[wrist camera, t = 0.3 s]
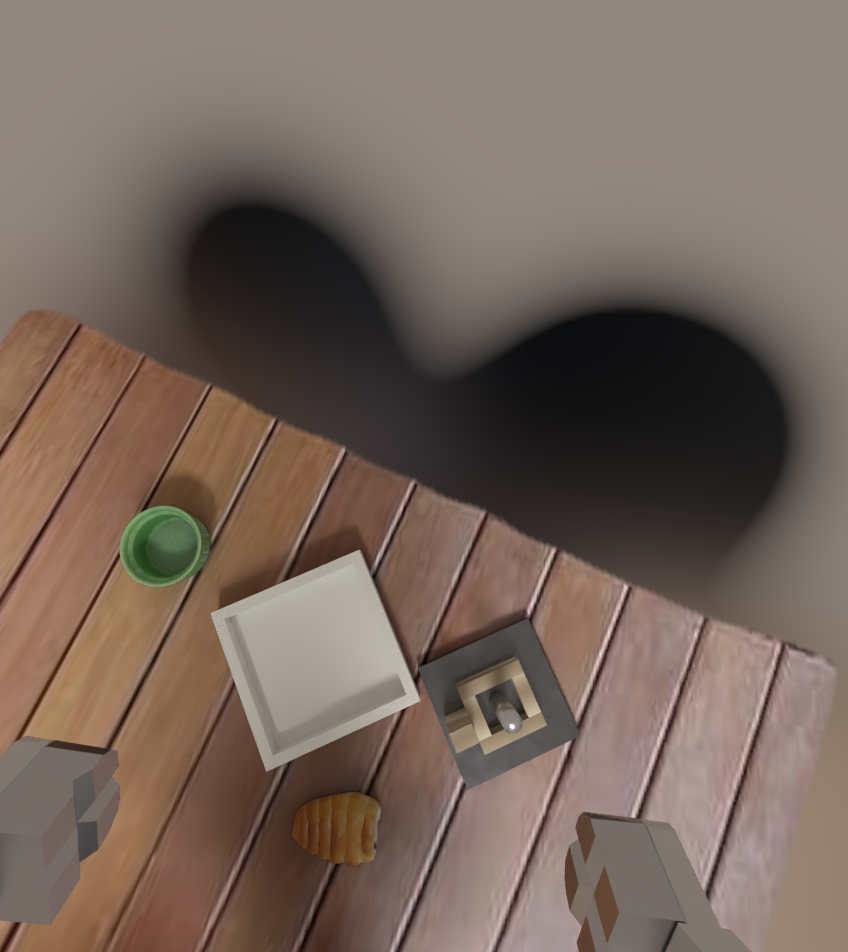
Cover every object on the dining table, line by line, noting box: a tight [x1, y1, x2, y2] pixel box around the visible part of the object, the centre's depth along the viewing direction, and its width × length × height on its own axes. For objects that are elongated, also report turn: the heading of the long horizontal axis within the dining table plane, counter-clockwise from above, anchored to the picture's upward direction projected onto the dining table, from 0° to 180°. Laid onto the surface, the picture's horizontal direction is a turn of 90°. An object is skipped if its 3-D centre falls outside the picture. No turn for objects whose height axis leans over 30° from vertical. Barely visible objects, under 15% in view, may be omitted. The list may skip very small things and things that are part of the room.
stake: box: [418, 617, 580, 790], centre depth 55 cm, size 14×14×9 cm
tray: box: [210, 550, 420, 772], centre depth 58 cm, size 18×18×2 cm
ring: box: [445, 656, 547, 755], centre depth 55 cm, size 8×10×6 cm
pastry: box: [292, 792, 381, 867], centre depth 55 cm, size 9×7×4 cm
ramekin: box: [120, 506, 210, 587], centre depth 59 cm, size 9×9×4 cm
